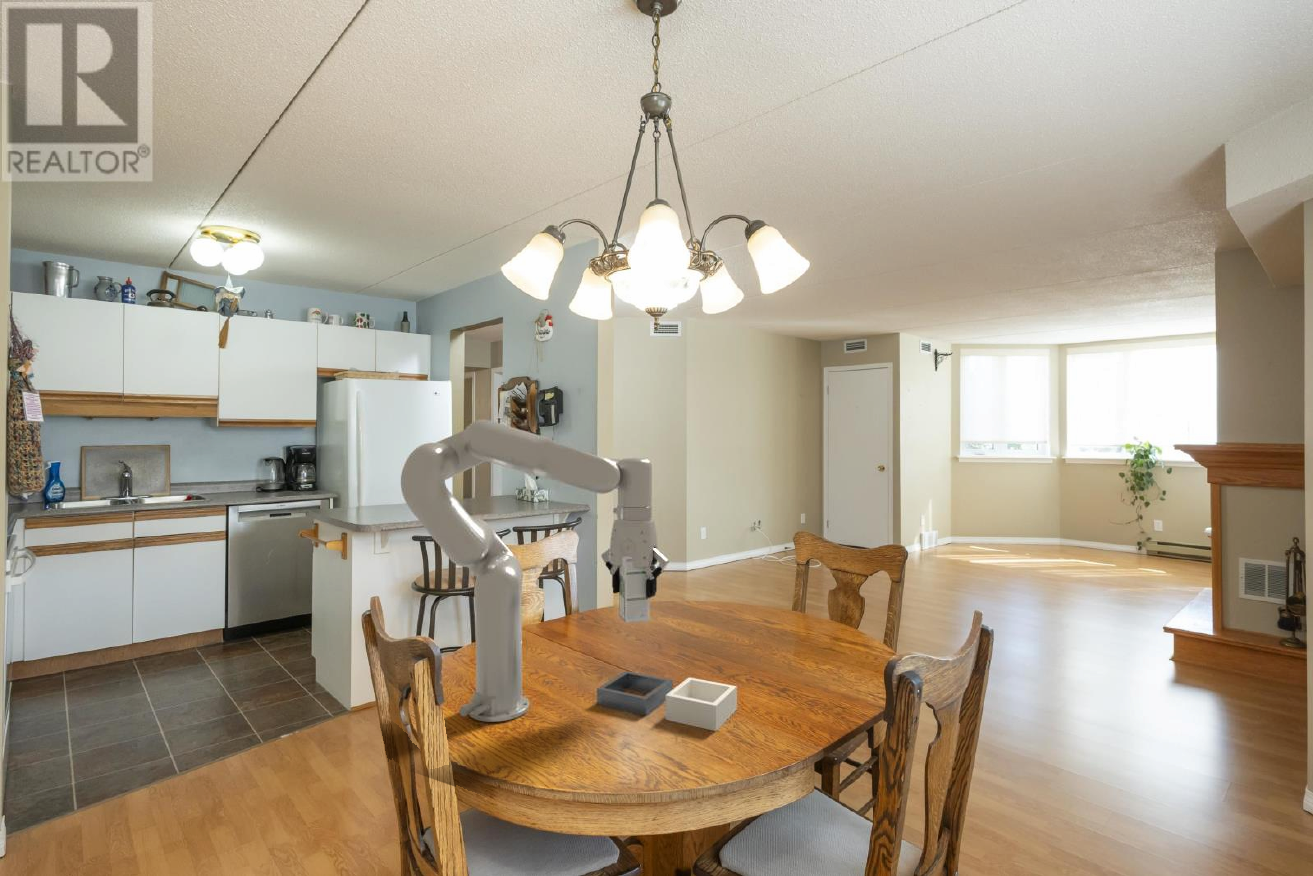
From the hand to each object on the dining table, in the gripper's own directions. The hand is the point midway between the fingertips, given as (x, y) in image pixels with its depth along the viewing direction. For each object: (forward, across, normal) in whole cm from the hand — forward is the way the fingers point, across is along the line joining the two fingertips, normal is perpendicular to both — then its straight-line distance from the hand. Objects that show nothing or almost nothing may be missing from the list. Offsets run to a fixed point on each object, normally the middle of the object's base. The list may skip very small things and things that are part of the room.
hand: (634, 593), depth 142 cm
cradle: (+23, +16, 0) cm, 29 cm away
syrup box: (+6, 0, 0) cm, 6 cm away
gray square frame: (+23, 0, 0) cm, 23 cm away
